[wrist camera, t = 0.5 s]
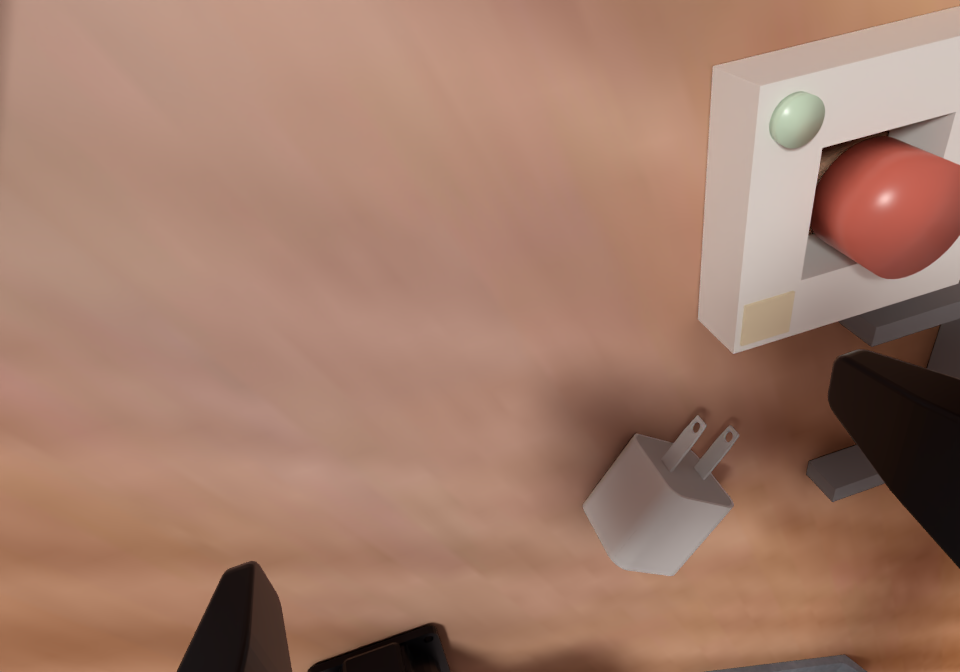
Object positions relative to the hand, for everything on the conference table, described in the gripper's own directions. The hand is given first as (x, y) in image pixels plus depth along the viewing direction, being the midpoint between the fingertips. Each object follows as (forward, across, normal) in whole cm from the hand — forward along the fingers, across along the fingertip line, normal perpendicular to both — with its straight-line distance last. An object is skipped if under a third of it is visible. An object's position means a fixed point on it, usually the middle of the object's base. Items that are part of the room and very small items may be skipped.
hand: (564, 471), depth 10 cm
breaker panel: (+13, -15, +5) cm, 21 cm away
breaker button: (+12, -15, +5) cm, 20 cm away
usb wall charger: (+14, -8, +17) cm, 23 cm away
